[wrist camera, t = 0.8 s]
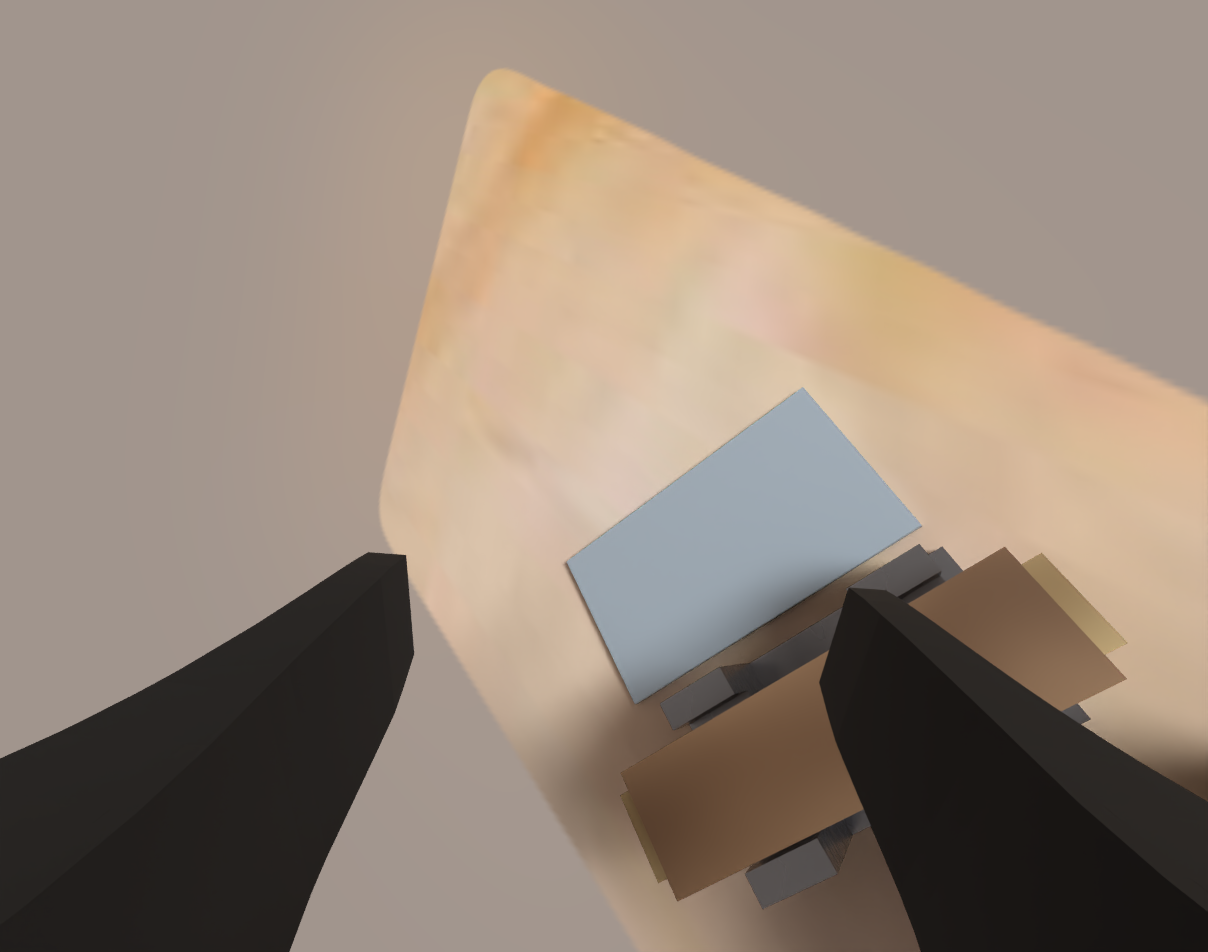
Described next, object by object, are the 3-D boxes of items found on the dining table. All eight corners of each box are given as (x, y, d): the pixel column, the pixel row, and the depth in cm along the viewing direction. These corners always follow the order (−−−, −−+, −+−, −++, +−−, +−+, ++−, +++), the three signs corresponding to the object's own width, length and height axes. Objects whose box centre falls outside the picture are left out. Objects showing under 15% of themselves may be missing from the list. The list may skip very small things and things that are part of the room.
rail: (1111, 660, 15) (1155, 664, 12) (701, 867, 18) (659, 909, 15) (1010, 551, 16) (1028, 532, 14) (651, 761, 20) (605, 781, 17)
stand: (1084, 716, 17) (1129, 737, 13) (774, 867, 20) (739, 919, 16) (941, 549, 20) (944, 528, 16) (688, 703, 23) (640, 715, 19)
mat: (921, 526, 20) (921, 525, 20) (637, 703, 24) (635, 704, 23) (804, 389, 24) (803, 387, 23) (569, 562, 27) (566, 561, 27)
